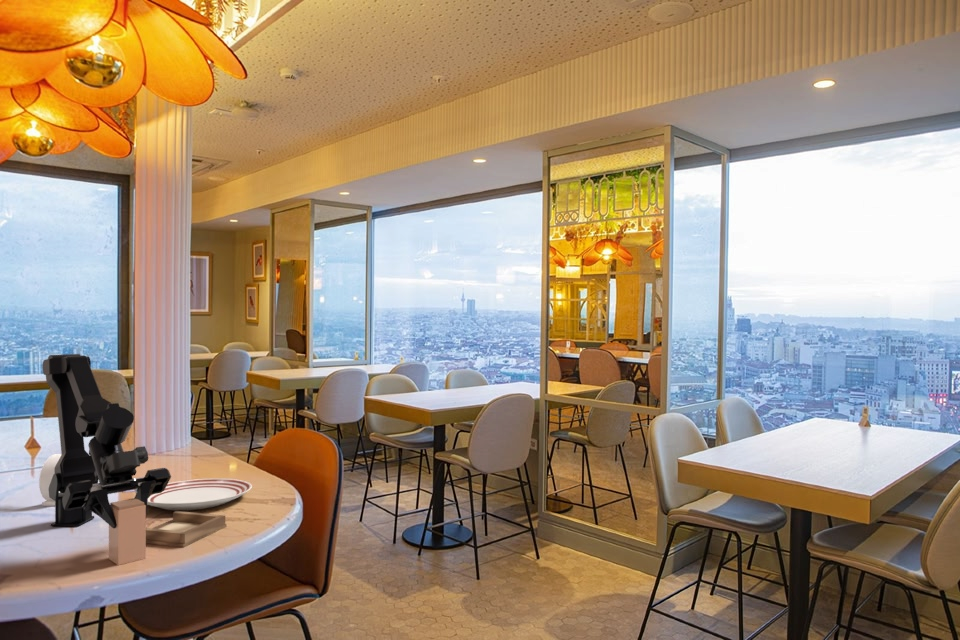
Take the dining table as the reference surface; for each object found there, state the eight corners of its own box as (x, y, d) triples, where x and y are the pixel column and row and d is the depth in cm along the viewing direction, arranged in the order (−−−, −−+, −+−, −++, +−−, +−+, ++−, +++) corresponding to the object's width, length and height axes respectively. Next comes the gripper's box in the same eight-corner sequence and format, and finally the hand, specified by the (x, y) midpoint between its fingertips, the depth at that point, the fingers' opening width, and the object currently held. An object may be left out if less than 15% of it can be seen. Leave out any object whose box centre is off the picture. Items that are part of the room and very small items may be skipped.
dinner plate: (143, 492, 179) (143, 480, 179) (250, 484, 189) (250, 472, 189) (129, 522, 153) (129, 508, 153) (253, 510, 163) (253, 497, 163)
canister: (108, 558, 130) (108, 502, 130) (135, 552, 133) (135, 497, 133) (118, 565, 126) (118, 507, 126) (145, 558, 130) (145, 502, 130)
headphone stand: (72, 500, 171) (72, 454, 171) (57, 507, 165) (57, 459, 165) (54, 500, 171) (54, 454, 171) (38, 507, 165) (39, 459, 165)
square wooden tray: (127, 541, 140) (127, 528, 140) (174, 521, 153) (174, 510, 153) (183, 547, 136) (183, 534, 136) (226, 526, 150) (226, 515, 150)
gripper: (67, 441, 125) (86, 510, 118) (167, 429, 139) (190, 490, 132) (54, 475, 131) (72, 544, 123) (152, 460, 145) (173, 521, 137)
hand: (130, 523), depth 129 cm, fingers closed on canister, 5 cm apart
